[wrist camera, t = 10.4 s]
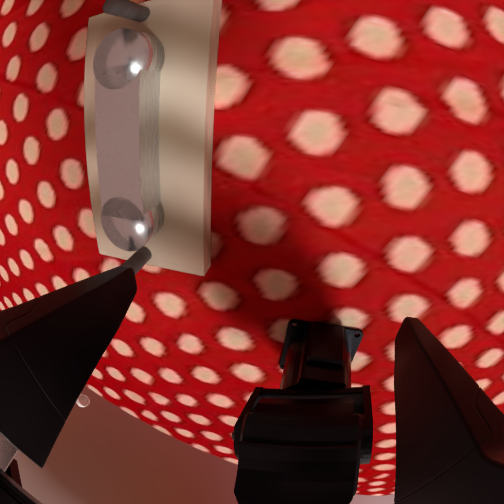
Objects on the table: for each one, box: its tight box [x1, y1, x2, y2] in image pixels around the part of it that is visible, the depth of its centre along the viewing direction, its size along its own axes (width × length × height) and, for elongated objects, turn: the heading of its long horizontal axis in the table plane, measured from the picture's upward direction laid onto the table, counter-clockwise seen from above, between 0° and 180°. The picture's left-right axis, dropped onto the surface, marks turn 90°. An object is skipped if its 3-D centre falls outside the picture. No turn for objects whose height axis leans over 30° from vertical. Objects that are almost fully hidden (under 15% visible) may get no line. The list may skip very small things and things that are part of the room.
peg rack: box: [84, 0, 222, 276], centre depth 17 cm, size 20×10×5 cm, turn 176°
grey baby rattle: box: [93, 28, 165, 251], centre depth 17 cm, size 15×4×2 cm, turn 176°
